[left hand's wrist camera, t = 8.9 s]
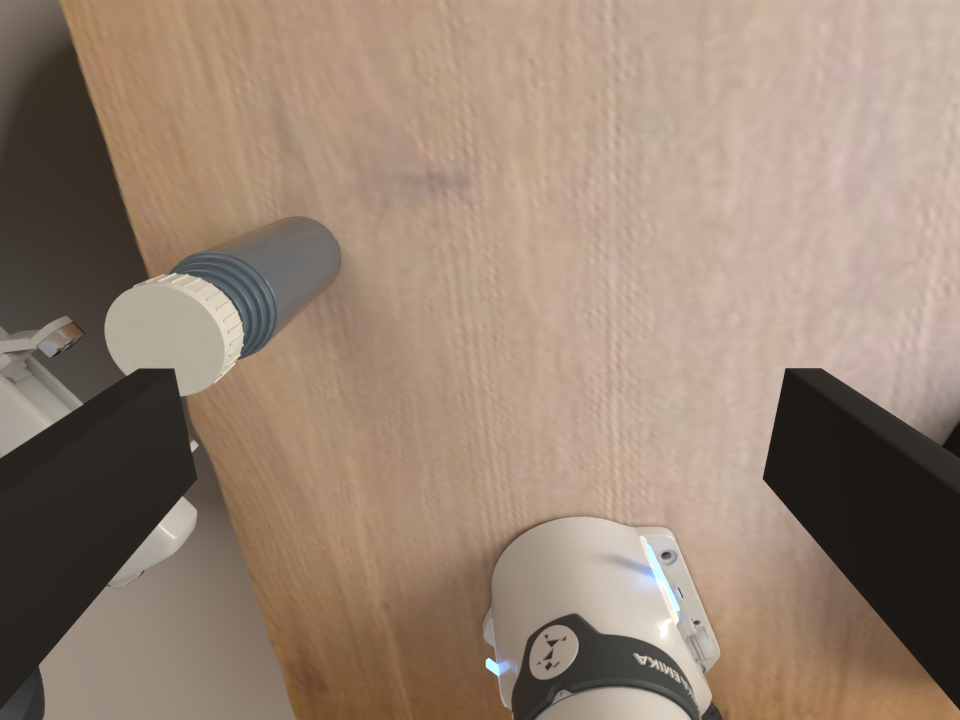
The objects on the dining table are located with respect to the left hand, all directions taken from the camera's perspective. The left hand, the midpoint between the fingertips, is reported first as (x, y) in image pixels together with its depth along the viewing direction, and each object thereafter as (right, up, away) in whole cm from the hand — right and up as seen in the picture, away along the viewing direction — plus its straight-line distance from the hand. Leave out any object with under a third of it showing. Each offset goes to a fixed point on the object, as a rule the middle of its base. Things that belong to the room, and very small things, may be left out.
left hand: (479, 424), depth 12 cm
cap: (-12, +2, +10) cm, 16 cm away
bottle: (-12, +9, +26) cm, 30 cm away
